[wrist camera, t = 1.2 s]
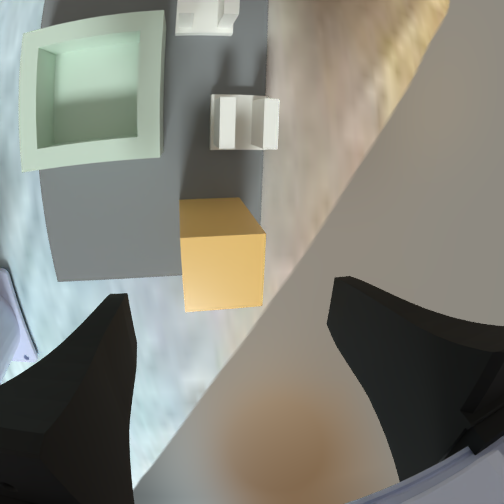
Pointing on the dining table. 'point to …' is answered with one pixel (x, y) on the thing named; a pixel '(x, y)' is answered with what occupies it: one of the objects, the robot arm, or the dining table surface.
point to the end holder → (92, 91)
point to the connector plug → (220, 254)
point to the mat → (171, 161)
